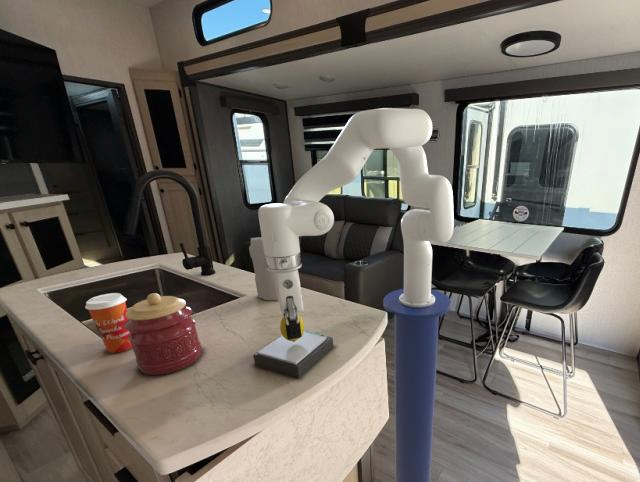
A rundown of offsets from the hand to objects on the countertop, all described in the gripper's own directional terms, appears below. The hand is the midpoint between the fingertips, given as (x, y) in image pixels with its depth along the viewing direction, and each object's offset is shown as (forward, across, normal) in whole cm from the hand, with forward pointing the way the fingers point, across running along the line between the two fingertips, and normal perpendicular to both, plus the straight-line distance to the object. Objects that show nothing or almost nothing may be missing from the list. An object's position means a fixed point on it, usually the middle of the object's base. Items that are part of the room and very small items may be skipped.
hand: (293, 331), depth 77 cm
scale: (+7, 0, 0) cm, 7 cm away
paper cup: (+7, +22, +42) cm, 48 cm away
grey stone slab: (+7, +42, +5) cm, 43 cm away
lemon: (+3, 0, 0) cm, 3 cm away
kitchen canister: (+7, +10, +28) cm, 31 cm away
